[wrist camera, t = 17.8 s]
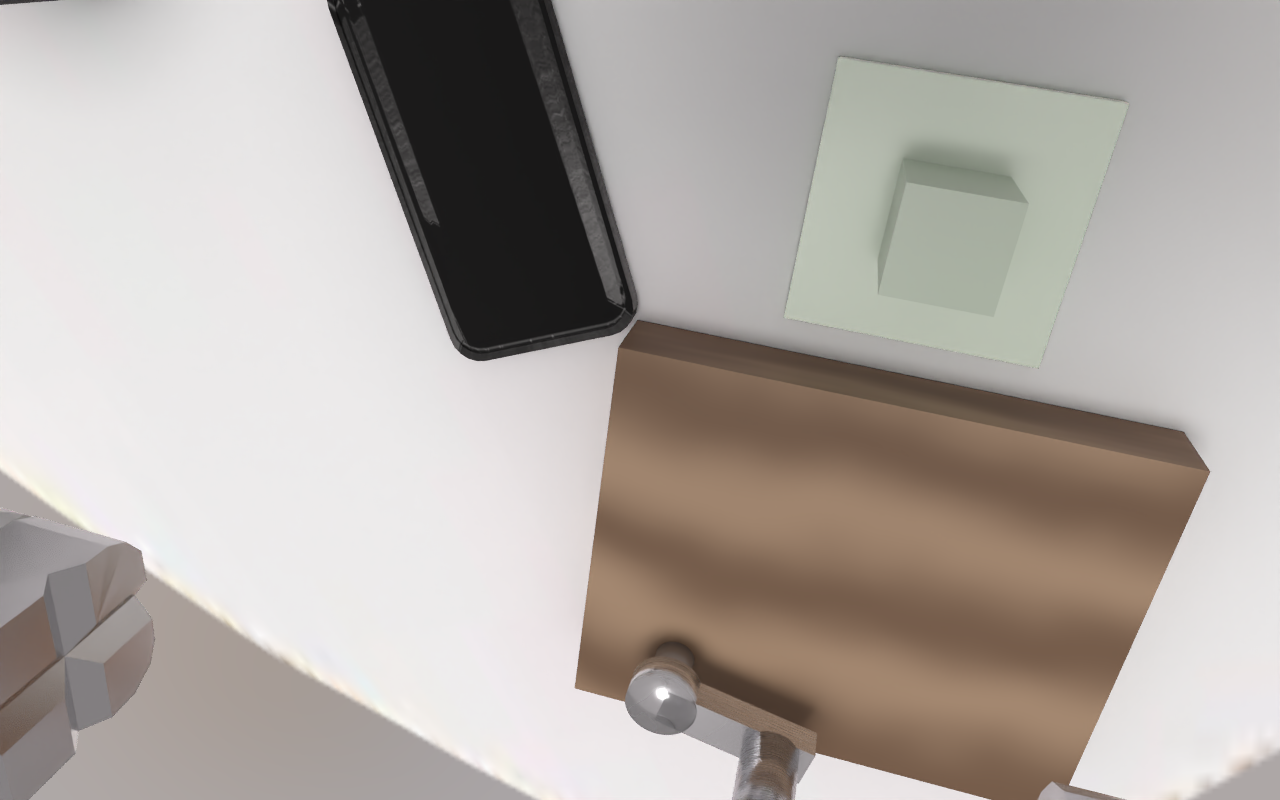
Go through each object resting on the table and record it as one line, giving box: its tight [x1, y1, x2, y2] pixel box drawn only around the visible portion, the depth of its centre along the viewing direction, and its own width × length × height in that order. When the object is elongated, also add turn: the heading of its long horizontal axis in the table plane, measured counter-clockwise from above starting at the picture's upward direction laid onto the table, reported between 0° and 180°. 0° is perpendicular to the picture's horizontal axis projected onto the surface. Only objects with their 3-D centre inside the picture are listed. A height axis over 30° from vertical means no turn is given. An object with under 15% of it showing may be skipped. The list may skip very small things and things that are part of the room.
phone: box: [327, 0, 638, 361], centre depth 35 cm, size 8×1×15 cm
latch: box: [625, 656, 817, 800], centre depth 35 cm, size 7×3×6 cm, turn 71°
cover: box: [784, 56, 1129, 369], centre depth 31 cm, size 9×9×5 cm
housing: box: [575, 320, 1210, 800], centre depth 37 cm, size 16×20×4 cm
